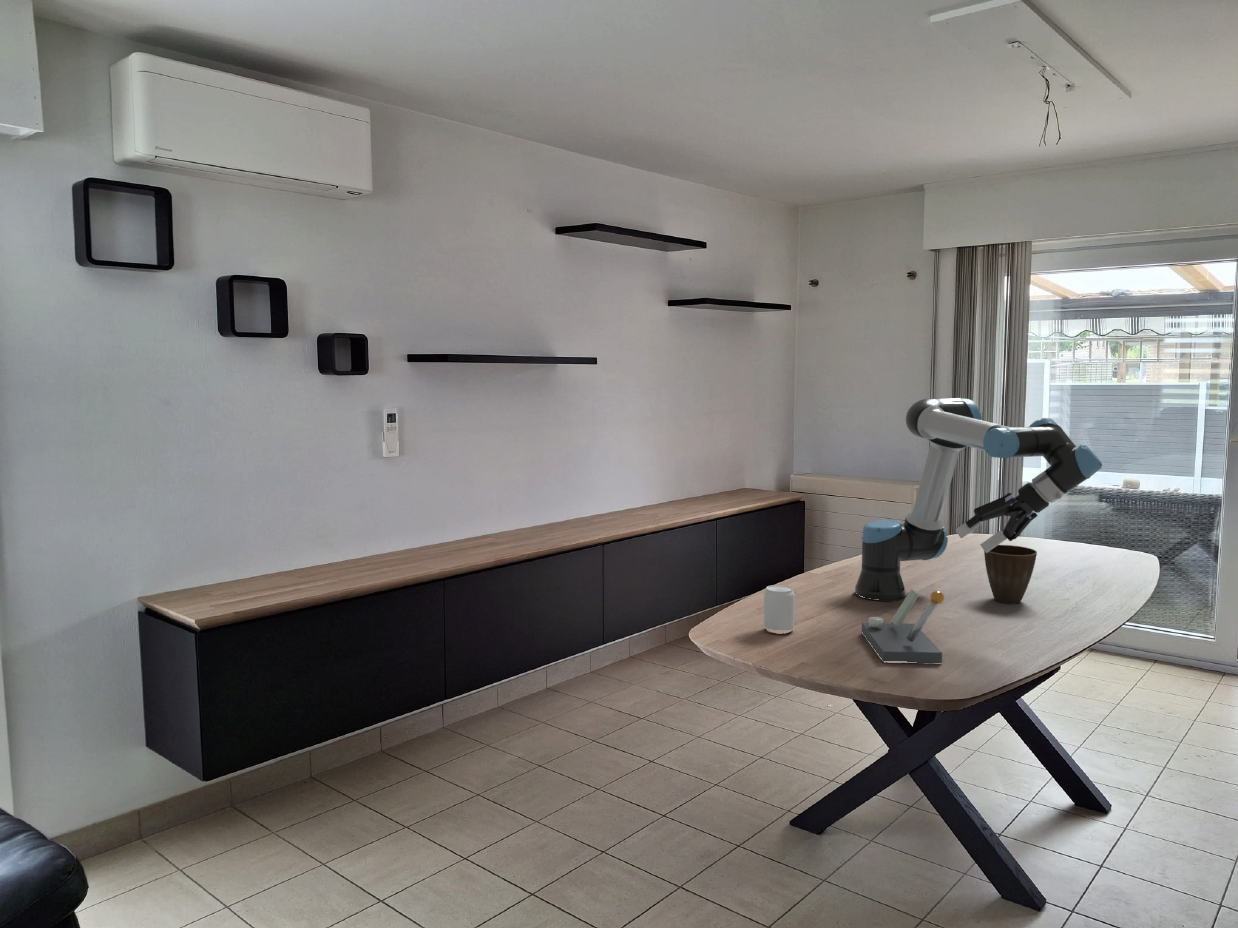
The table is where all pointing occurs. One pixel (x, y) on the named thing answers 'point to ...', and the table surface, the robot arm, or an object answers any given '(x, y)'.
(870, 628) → the switch panel
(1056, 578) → the table surface
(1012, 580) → the plant pot
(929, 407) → the robot arm
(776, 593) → the beverage can
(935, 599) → the steel toggle lever
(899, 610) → the sage paddle
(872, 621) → the white push button
